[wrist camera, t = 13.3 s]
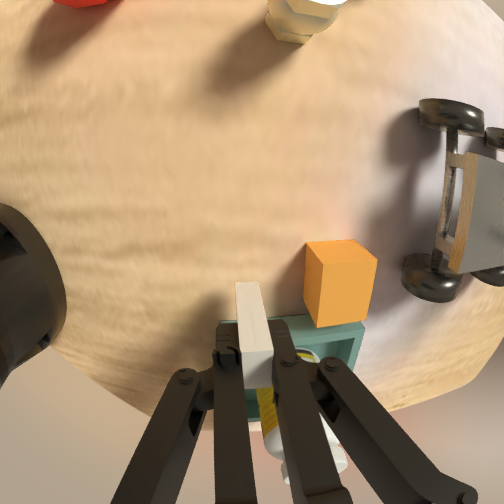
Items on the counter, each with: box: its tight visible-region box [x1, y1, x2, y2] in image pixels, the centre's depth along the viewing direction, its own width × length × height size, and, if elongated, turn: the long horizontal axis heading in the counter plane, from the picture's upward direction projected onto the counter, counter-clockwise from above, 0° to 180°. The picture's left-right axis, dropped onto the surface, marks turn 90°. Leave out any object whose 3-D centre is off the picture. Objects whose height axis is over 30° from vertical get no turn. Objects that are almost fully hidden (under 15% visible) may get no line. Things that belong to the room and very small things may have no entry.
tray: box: [221, 314, 365, 422], centre depth 23 cm, size 12×12×3 cm
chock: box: [303, 239, 378, 328], centre depth 20 cm, size 4×5×4 cm
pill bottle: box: [256, 347, 348, 484], centre depth 19 cm, size 6×6×12 cm
